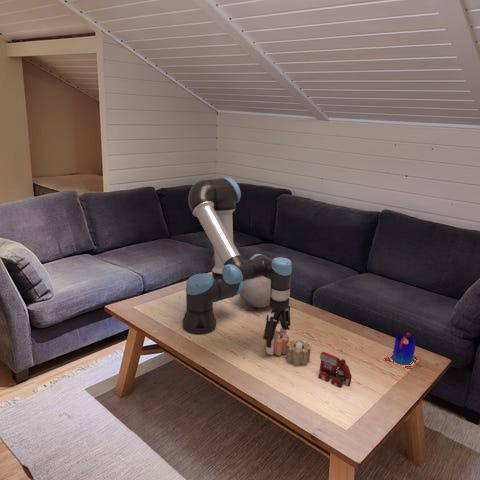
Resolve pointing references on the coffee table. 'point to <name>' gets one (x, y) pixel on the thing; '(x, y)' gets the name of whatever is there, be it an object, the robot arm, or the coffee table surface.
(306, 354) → the gear
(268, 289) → the moon model
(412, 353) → the fantasy tower
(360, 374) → the coffee table surface
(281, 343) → the loose gear
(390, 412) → the coffee table surface
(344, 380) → the toy fire truck
